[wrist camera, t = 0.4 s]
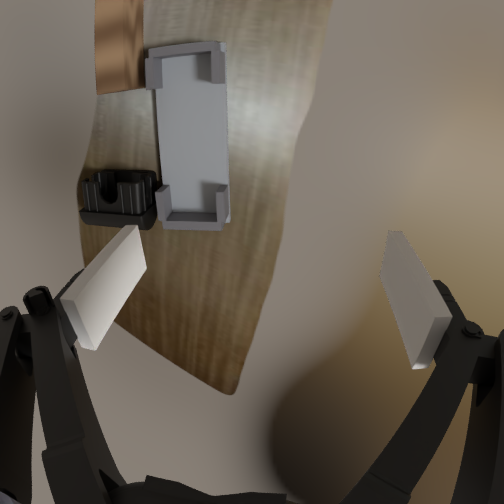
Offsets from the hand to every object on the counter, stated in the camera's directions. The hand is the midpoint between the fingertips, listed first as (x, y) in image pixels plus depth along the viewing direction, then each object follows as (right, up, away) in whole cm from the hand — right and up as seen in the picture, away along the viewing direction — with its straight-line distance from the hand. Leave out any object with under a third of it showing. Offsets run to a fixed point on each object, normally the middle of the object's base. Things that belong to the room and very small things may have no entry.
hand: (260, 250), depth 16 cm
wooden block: (-16, +29, +16) cm, 37 cm away
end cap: (-18, +9, +28) cm, 34 cm away
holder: (-8, +15, +23) cm, 28 cm away
